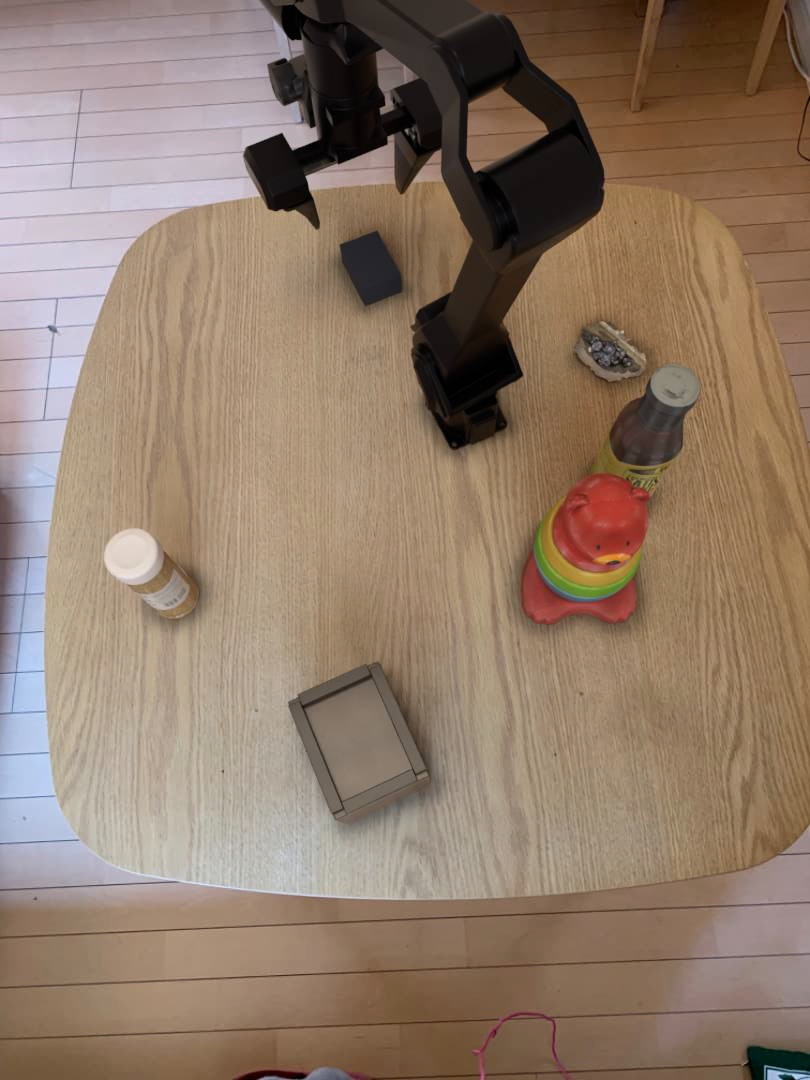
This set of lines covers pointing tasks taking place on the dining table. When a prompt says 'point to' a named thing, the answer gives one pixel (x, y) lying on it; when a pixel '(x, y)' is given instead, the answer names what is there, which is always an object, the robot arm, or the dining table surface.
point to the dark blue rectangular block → (371, 268)
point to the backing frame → (358, 743)
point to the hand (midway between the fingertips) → (358, 208)
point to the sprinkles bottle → (151, 572)
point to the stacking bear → (587, 553)
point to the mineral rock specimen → (609, 352)
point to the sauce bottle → (650, 429)
